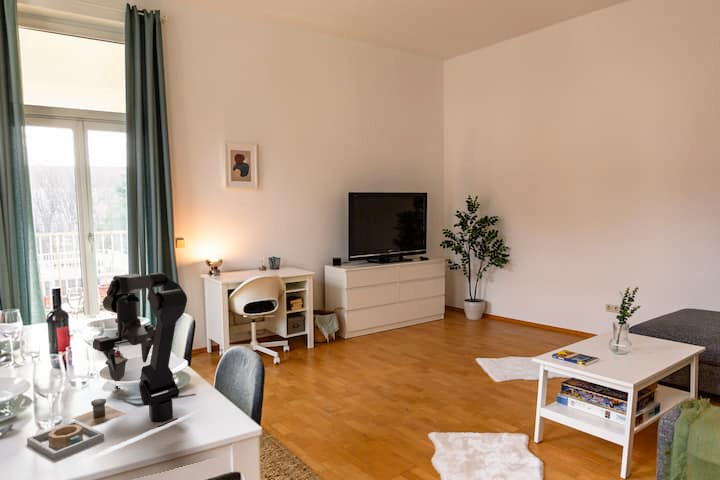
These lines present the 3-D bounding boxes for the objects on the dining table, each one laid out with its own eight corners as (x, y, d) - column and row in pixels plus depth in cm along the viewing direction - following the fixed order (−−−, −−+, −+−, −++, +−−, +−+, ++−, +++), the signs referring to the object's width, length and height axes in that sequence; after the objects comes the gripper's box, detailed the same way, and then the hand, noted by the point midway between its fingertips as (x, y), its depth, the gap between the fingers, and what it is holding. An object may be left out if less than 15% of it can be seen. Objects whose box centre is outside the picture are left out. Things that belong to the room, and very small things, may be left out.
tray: (104, 443, 129) (103, 433, 128) (54, 463, 119) (54, 453, 119) (76, 429, 136) (75, 420, 136) (27, 447, 126) (27, 438, 126)
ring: (73, 433, 132) (72, 422, 132) (90, 442, 128) (89, 430, 127) (44, 444, 127) (44, 432, 126) (61, 453, 122) (60, 441, 122)
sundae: (120, 395, 160) (118, 349, 159) (102, 393, 162) (100, 348, 160) (133, 387, 167) (131, 343, 165) (116, 386, 168) (114, 342, 167)
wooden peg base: (126, 416, 144) (125, 399, 144) (91, 430, 136) (90, 411, 135) (107, 409, 150) (106, 391, 149) (72, 421, 141) (71, 403, 141)
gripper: (107, 326, 138) (109, 380, 140) (170, 314, 153) (172, 363, 154) (90, 320, 146) (93, 372, 147) (152, 309, 160) (154, 356, 161)
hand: (129, 366), depth 152 cm, fingers open, 9 cm apart
